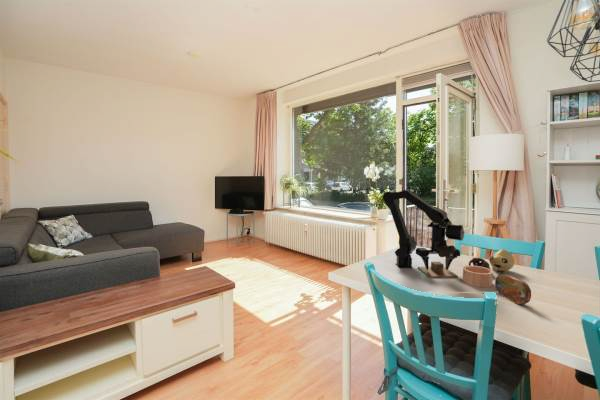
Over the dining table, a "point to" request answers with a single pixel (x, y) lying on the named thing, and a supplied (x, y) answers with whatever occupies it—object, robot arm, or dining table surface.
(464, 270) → the terracotta bowl
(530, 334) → the dining table surface
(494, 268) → the yellow rounded lump
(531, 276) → the dining table surface
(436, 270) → the walnut lid
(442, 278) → the teal mat
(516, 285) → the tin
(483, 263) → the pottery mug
